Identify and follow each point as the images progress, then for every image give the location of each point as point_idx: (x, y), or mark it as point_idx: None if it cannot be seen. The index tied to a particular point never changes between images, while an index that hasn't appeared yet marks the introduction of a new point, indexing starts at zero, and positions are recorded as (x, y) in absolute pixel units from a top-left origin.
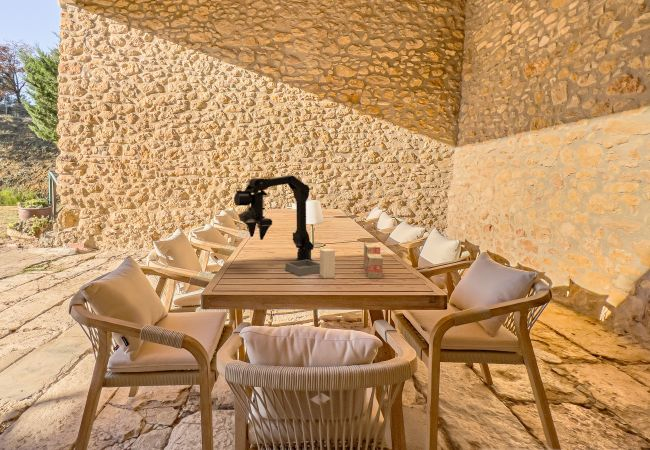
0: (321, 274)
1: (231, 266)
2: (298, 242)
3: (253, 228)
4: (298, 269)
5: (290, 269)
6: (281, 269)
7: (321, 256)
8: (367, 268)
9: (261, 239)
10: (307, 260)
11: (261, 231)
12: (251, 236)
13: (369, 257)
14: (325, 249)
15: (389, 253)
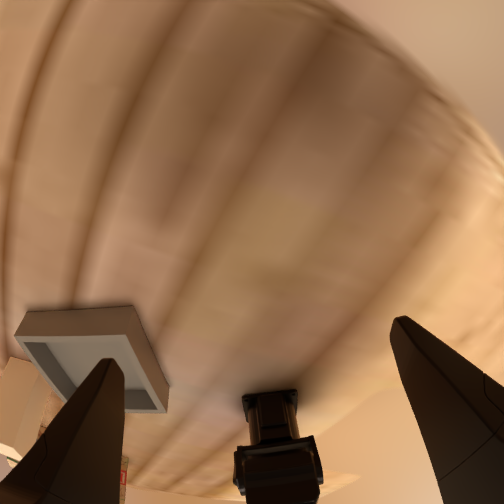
0: (26, 366)
1: (374, 59)
2: (265, 467)
3: (439, 441)
4: (26, 330)
5: (85, 318)
6: (152, 295)
7: (7, 420)
8: (36, 440)
9: (107, 367)
10: (155, 408)
11: (36, 461)
12: (394, 326)
13: (11, 461)
14: (7, 449)
15: (227, 499)
